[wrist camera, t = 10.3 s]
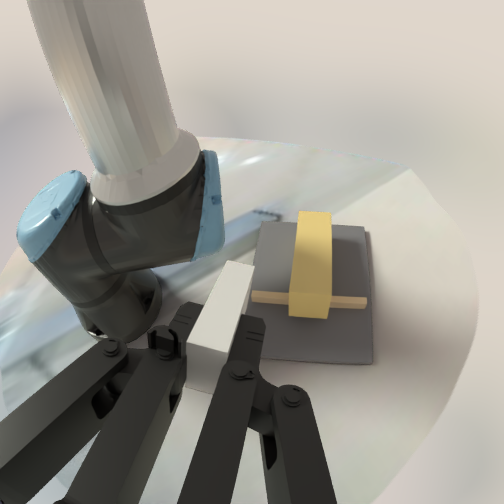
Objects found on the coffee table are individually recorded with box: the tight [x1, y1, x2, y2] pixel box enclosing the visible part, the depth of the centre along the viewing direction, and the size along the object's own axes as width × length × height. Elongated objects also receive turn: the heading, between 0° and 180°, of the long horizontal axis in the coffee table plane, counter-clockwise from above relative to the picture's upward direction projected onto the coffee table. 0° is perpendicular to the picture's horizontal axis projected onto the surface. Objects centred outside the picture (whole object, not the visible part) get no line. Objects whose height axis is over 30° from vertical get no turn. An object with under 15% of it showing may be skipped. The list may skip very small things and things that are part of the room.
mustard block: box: [289, 211, 332, 319], centre depth 40 cm, size 5×5×16 cm
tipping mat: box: [245, 221, 373, 364], centre depth 42 cm, size 24×18×2 cm
